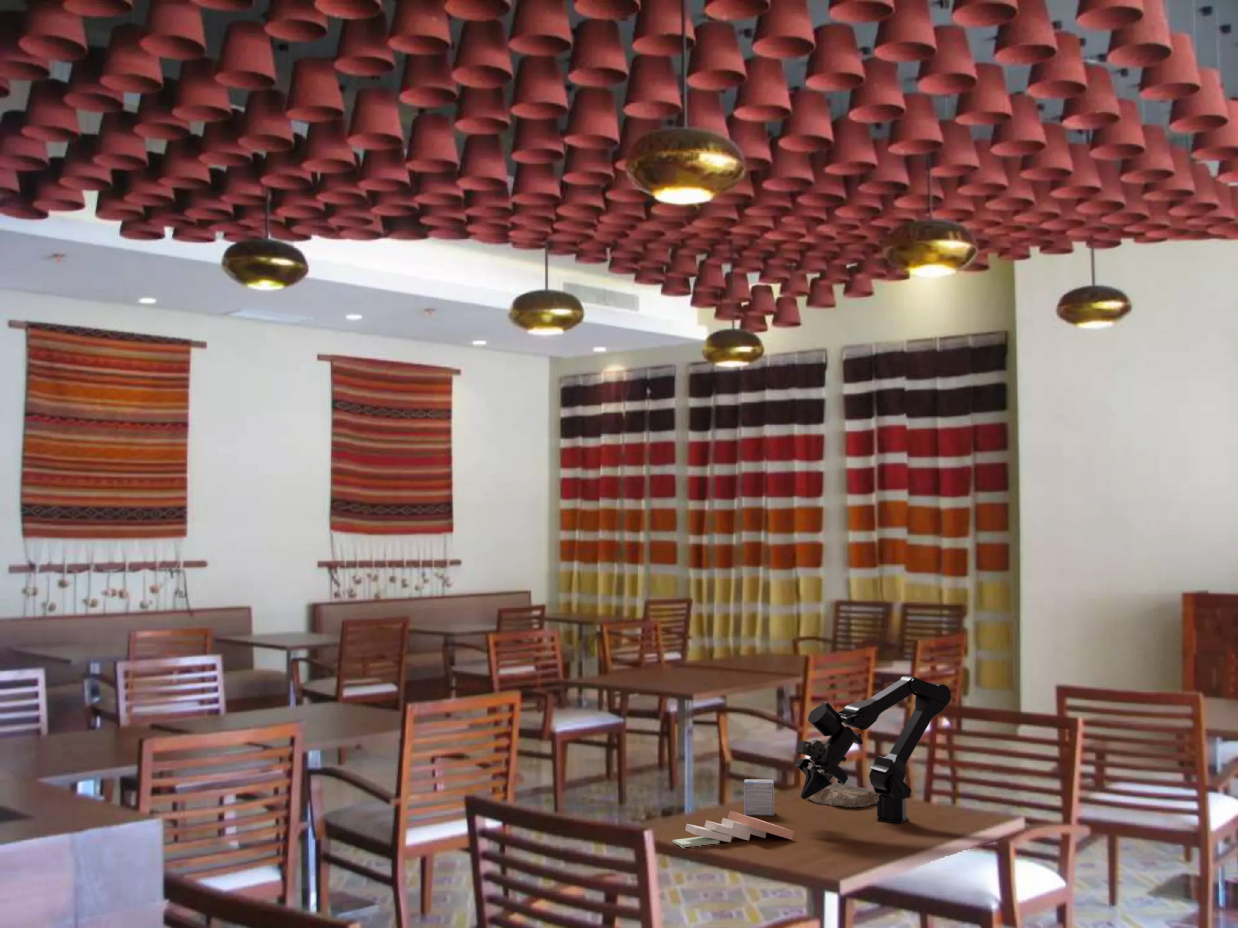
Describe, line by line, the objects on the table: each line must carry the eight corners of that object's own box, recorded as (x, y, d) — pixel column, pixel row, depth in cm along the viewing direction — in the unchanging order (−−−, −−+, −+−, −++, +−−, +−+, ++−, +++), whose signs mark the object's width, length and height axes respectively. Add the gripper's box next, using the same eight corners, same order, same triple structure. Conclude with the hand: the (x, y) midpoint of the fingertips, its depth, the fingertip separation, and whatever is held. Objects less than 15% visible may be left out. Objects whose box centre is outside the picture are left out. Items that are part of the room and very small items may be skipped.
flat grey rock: (793, 801, 348) (854, 810, 334) (793, 783, 348) (853, 791, 334) (823, 794, 358) (883, 803, 344) (823, 777, 358) (883, 785, 344)
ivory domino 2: (738, 829, 306) (706, 819, 302) (750, 833, 302) (717, 824, 297) (736, 835, 306) (704, 826, 301) (748, 840, 301) (715, 830, 297)
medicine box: (774, 812, 332) (773, 779, 333) (774, 815, 328) (774, 782, 328) (744, 811, 333) (743, 778, 334) (744, 815, 329) (743, 782, 329)
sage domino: (709, 835, 303) (672, 839, 299) (719, 839, 298) (682, 844, 294) (709, 842, 303) (672, 846, 299) (719, 846, 298) (682, 851, 294)
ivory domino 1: (722, 831, 304) (686, 823, 300) (732, 835, 300) (696, 827, 296) (720, 837, 304) (685, 830, 300) (730, 842, 299) (694, 834, 296)
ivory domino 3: (755, 827, 308) (722, 817, 304) (766, 831, 304) (734, 821, 300) (753, 833, 308) (721, 824, 304) (765, 837, 304) (732, 828, 299)
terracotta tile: (761, 820, 314) (729, 810, 310) (793, 831, 302) (760, 821, 298) (759, 828, 314) (727, 818, 310) (791, 839, 302) (758, 829, 298)
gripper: (797, 726, 324) (763, 775, 319) (830, 729, 307) (795, 781, 302) (828, 753, 326) (795, 802, 321) (863, 757, 308) (828, 809, 303)
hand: (802, 798), depth 312 cm, fingers closed
